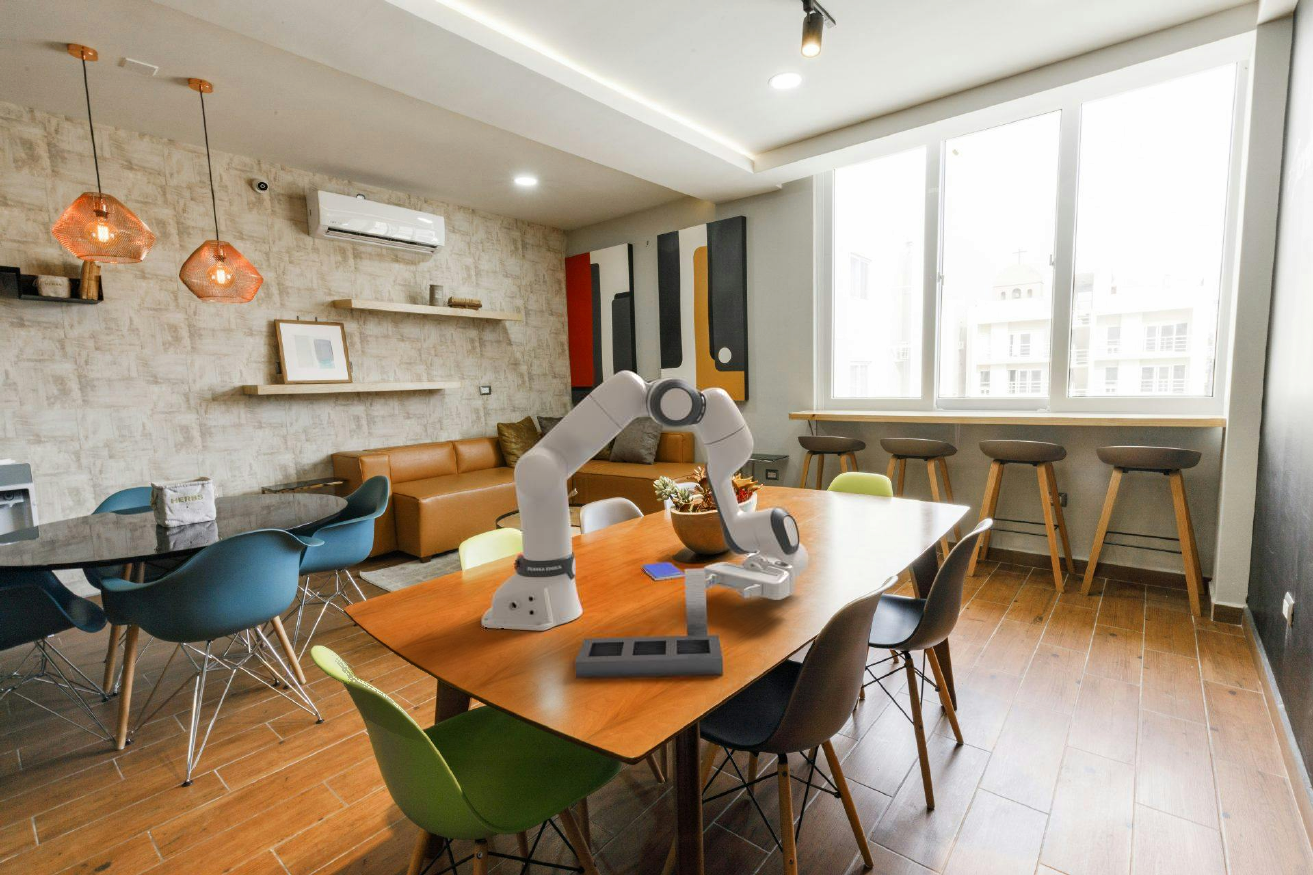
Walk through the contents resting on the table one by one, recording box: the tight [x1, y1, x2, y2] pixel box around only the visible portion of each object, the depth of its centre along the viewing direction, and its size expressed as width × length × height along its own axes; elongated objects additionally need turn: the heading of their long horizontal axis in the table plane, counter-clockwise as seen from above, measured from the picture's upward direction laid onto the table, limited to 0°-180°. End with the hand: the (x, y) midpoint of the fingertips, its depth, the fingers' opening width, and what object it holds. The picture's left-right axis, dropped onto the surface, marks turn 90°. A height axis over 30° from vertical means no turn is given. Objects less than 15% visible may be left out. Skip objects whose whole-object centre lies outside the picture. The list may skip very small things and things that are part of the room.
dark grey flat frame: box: [574, 634, 724, 679], centre depth 109 cm, size 26×10×3 cm, turn 88°
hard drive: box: [641, 561, 685, 581], centre depth 164 cm, size 2×8×12 cm
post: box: [683, 567, 708, 636], centre depth 118 cm, size 4×4×14 cm
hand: (723, 588), depth 125 cm, fingers open, 8 cm apart
